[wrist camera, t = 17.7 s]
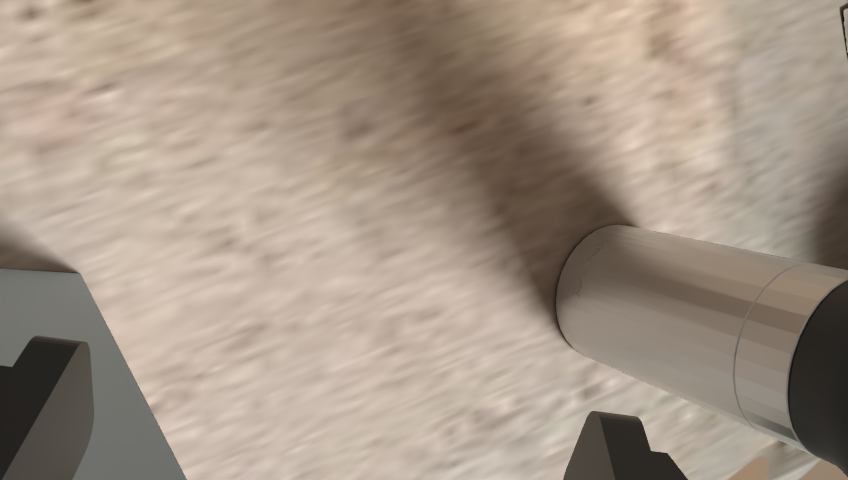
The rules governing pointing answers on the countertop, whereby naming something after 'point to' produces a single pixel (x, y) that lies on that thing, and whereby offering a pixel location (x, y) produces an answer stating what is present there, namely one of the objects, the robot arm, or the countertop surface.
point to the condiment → (846, 25)
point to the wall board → (111, 377)
